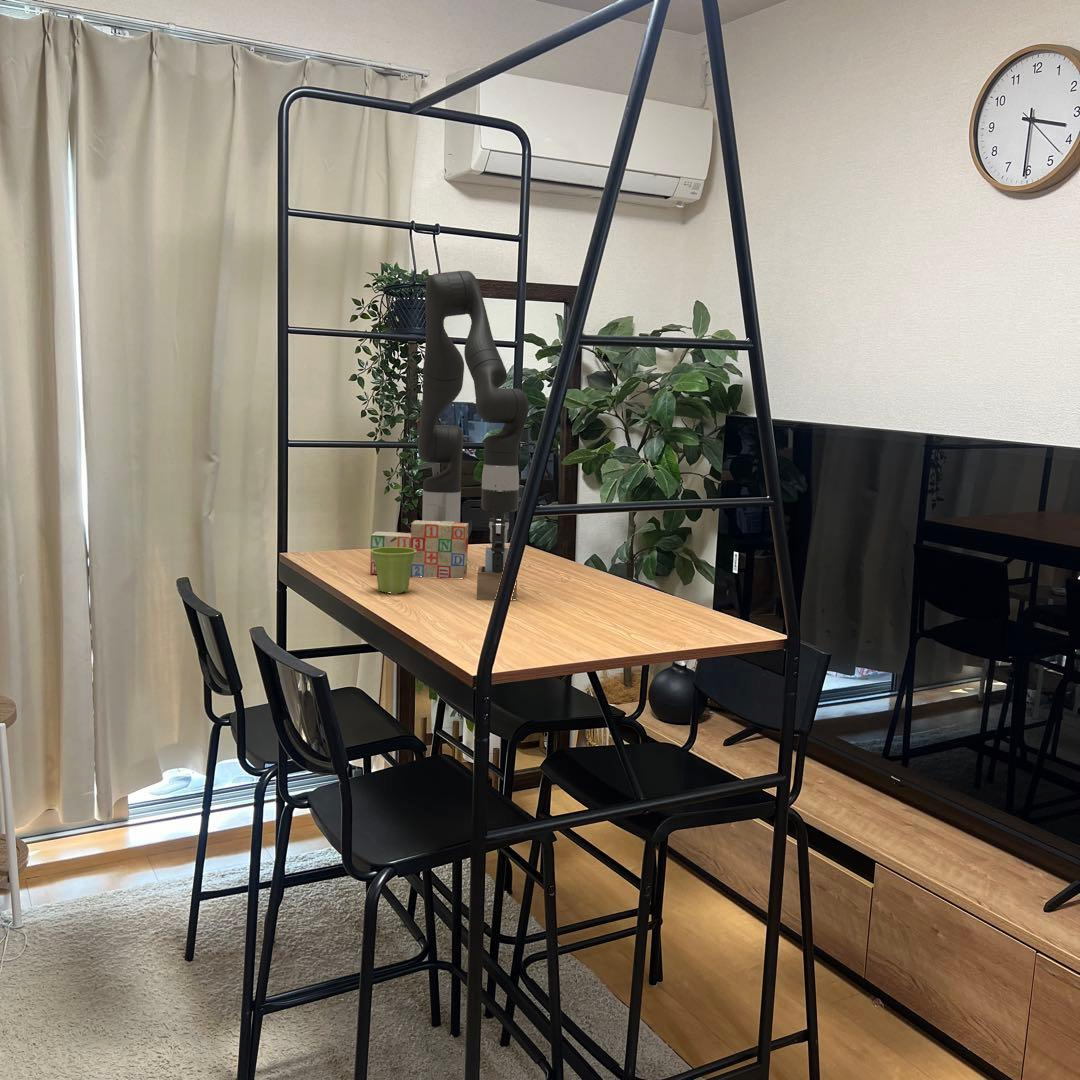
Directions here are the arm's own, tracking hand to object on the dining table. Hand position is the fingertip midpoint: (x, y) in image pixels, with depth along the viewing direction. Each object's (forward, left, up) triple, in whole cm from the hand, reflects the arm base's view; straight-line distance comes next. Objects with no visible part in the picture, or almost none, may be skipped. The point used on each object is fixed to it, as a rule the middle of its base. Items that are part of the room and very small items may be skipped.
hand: (497, 569), depth 216 cm
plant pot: (-2, -22, -6) cm, 22 cm away
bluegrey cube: (0, 0, -1) cm, 1 cm away
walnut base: (0, 0, -6) cm, 6 cm away
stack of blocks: (-22, -18, -6) cm, 29 cm away
